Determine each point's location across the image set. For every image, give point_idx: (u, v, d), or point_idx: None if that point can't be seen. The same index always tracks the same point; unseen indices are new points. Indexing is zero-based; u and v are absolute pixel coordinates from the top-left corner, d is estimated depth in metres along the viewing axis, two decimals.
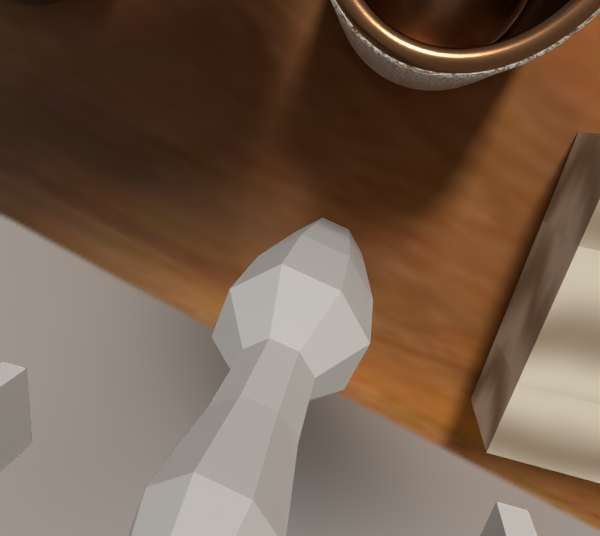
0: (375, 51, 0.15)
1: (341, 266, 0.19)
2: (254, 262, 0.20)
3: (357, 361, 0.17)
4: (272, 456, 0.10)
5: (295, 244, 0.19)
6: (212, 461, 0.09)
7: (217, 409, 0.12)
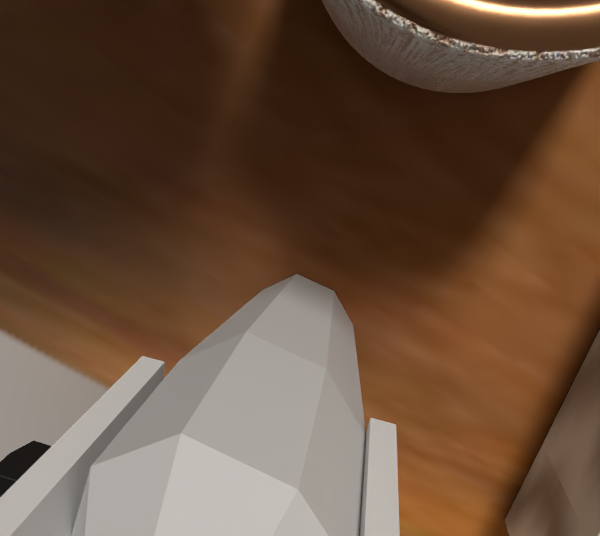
0: (365, 4, 0.07)
1: (307, 402, 0.10)
2: (164, 381, 0.12)
3: None
4: None
5: (228, 362, 0.11)
6: None
7: None
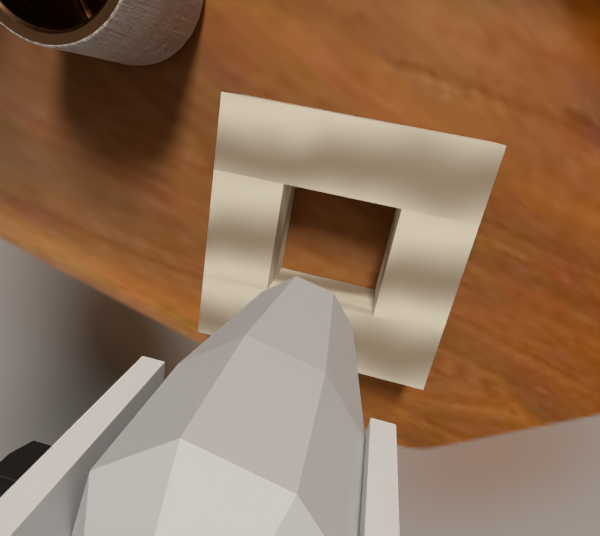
0: (11, 31, 0.24)
1: (306, 405, 0.10)
2: (164, 384, 0.12)
3: None
4: None
5: (227, 365, 0.11)
6: None
7: None
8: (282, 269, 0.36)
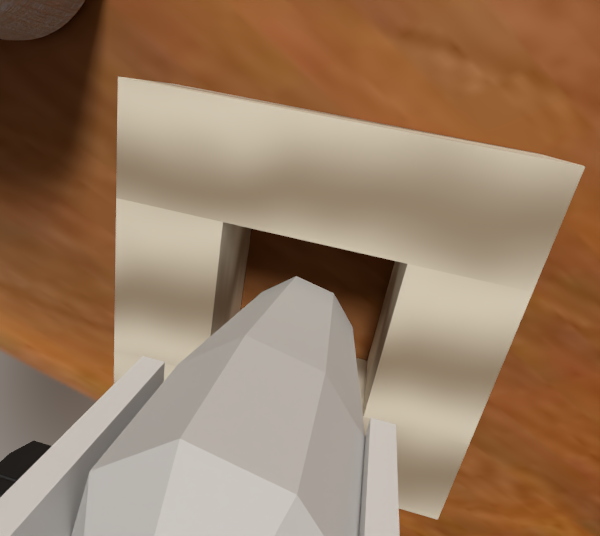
0: None
1: (306, 406, 0.10)
2: (164, 385, 0.12)
3: None
4: None
5: (227, 365, 0.11)
6: None
7: None
8: None
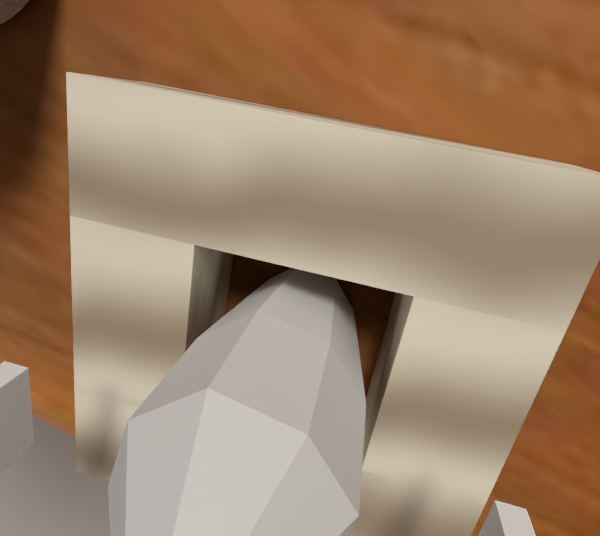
0: None
1: (314, 368, 0.12)
2: (186, 354, 0.13)
3: None
4: None
5: (243, 333, 0.12)
6: None
7: None
8: None
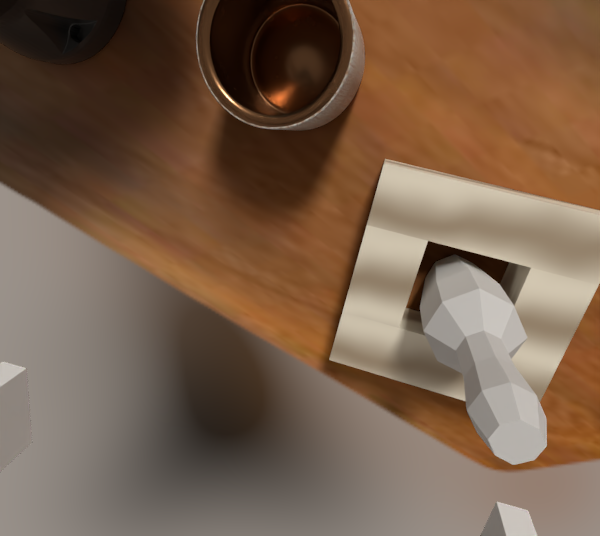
0: (231, 114, 0.30)
1: (501, 290, 0.30)
2: (440, 285, 0.31)
3: (518, 348, 0.28)
4: (526, 383, 0.22)
5: (472, 275, 0.30)
6: (512, 380, 0.21)
7: (485, 362, 0.23)
8: None
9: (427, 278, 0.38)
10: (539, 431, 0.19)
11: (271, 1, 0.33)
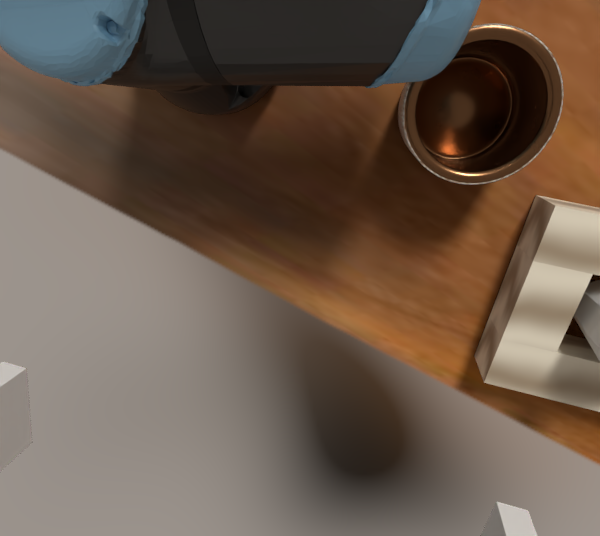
0: (431, 171, 0.32)
1: None
2: None
3: None
4: None
5: None
6: None
7: None
8: None
9: None
10: None
11: None
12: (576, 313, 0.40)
